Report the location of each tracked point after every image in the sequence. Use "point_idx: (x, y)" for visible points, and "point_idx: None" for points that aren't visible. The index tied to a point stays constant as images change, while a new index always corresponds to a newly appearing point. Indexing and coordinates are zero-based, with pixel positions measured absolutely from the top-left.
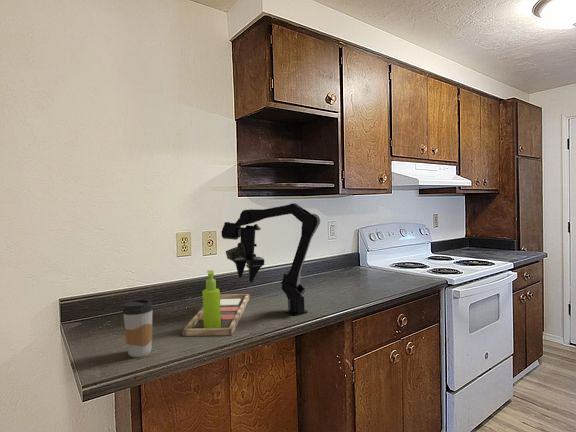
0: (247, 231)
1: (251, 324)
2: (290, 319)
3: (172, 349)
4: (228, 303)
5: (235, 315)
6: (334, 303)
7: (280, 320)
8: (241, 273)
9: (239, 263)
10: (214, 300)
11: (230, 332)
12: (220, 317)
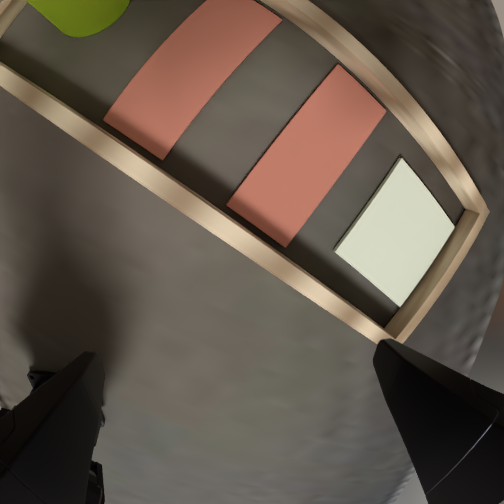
0: None
1: (8, 172)
2: (3, 337)
3: None
4: (383, 220)
5: (77, 116)
6: (117, 492)
7: (2, 303)
8: (391, 391)
9: (486, 465)
10: None
11: None
12: (48, 18)
